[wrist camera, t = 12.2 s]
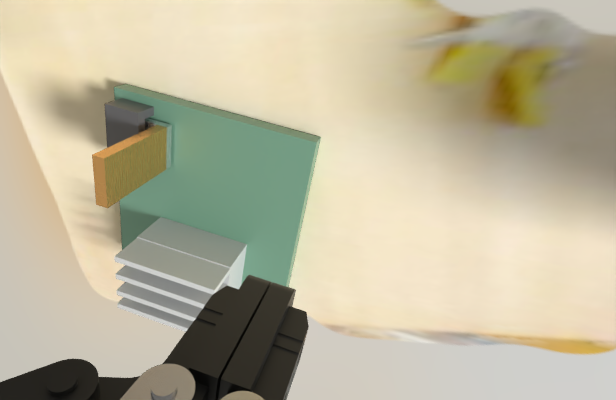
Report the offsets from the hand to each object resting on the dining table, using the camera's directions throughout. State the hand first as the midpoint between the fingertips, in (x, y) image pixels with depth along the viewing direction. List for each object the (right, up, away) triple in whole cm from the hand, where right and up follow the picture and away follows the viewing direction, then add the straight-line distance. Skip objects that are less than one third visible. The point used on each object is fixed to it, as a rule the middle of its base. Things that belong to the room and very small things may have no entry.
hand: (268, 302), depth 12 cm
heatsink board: (-11, +3, +39) cm, 40 cm away
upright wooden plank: (-17, +10, +34) cm, 40 cm away
